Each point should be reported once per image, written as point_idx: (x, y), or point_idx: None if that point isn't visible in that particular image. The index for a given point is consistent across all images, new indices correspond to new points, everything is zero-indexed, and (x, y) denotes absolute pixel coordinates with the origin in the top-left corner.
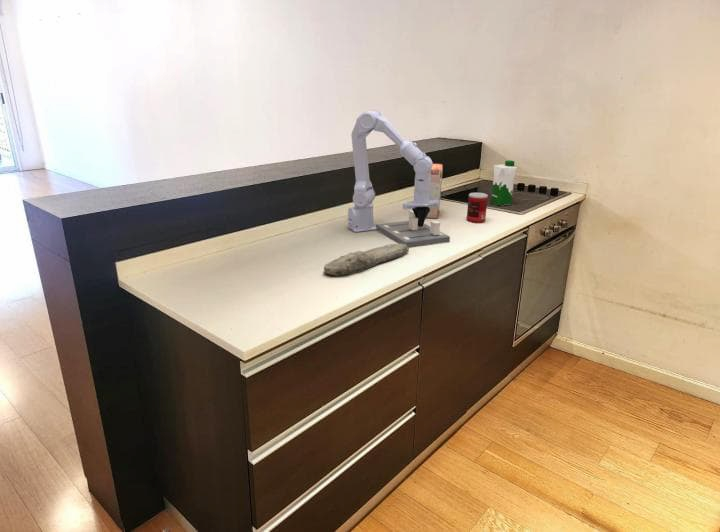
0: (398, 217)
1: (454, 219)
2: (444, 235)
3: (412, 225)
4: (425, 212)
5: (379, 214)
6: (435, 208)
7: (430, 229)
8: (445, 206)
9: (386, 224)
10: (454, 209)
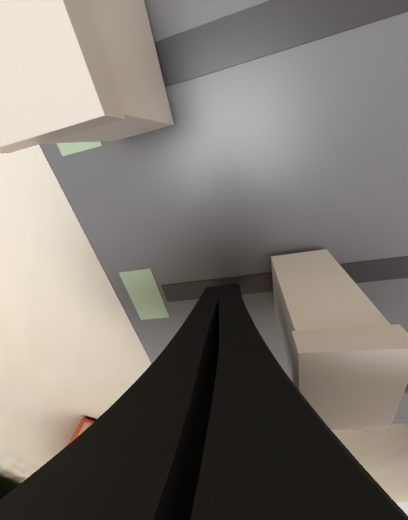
0: None
1: (16, 398)
2: None
3: (350, 283)
4: (140, 475)
5: None
6: None
7: (160, 116)
8: None
9: (402, 409)
10: (25, 454)
